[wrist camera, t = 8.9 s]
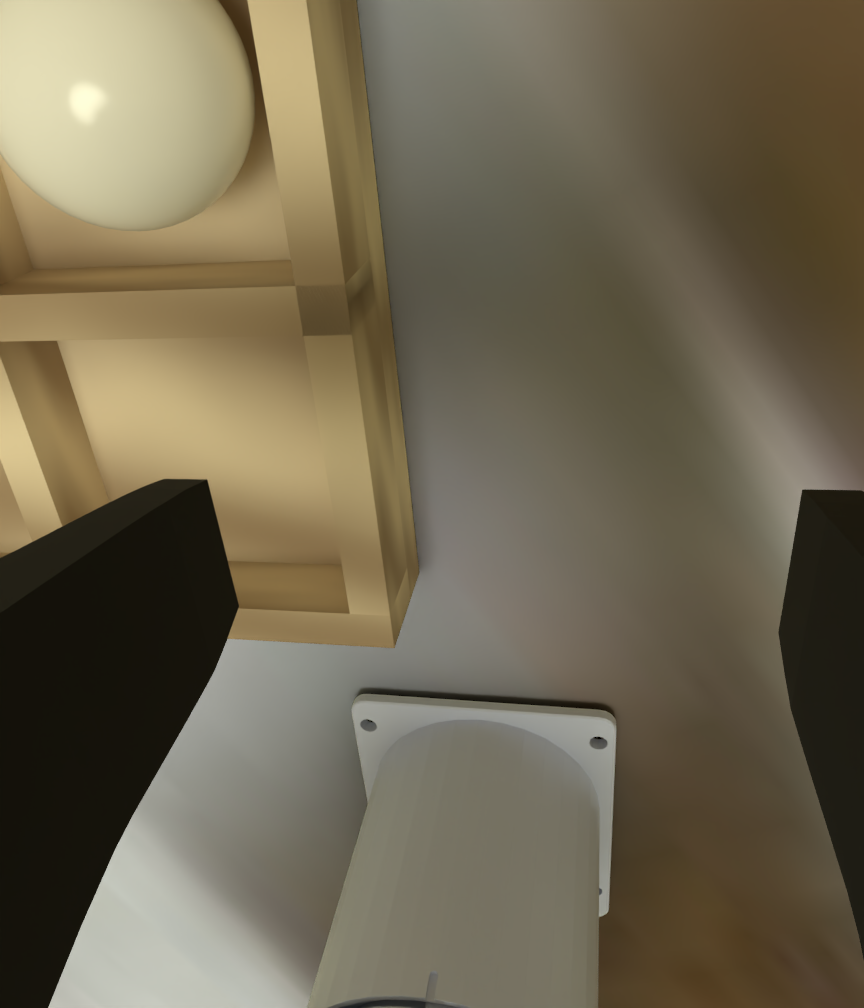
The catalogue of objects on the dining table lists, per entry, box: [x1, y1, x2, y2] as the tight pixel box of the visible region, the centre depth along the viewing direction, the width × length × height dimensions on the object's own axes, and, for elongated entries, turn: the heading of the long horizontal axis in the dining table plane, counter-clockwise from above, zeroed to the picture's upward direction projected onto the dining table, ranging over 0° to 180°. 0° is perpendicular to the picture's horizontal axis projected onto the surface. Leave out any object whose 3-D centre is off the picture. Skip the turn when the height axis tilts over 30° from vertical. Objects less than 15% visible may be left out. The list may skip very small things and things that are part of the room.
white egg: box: [0, 0, 255, 231], centre depth 14 cm, size 5×5×5 cm
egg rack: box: [0, 0, 419, 648], centre depth 19 cm, size 17×17×3 cm
